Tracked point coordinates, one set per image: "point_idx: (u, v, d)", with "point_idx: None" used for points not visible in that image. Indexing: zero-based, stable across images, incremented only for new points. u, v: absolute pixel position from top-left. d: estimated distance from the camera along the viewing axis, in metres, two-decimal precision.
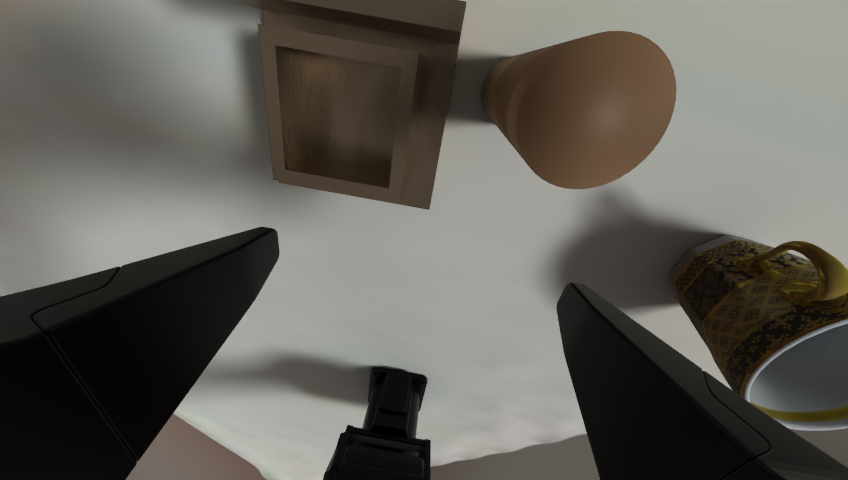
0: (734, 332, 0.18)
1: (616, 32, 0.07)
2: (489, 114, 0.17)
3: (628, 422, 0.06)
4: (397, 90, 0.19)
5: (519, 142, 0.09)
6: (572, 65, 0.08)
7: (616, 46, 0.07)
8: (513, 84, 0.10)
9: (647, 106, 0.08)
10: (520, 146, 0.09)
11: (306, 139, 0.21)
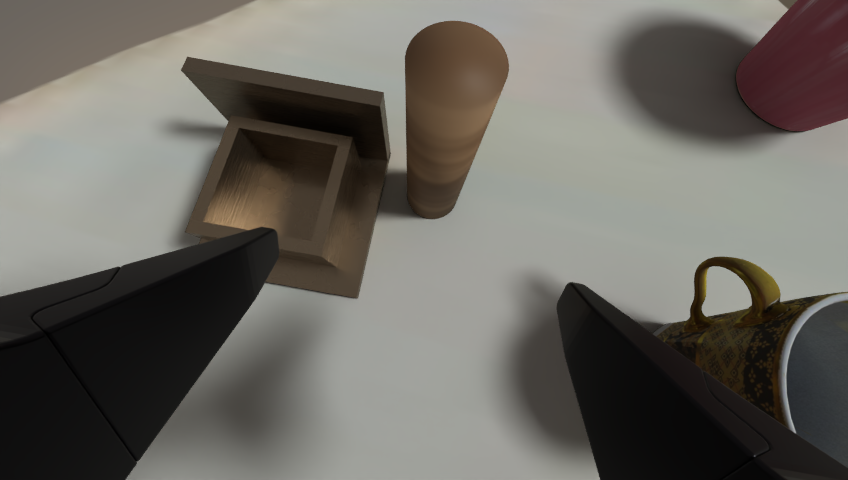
0: (729, 386, 0.14)
1: (457, 21, 0.12)
2: (410, 185, 0.20)
3: (628, 422, 0.06)
4: None
5: (407, 74, 0.11)
6: (435, 34, 0.12)
7: (459, 27, 0.12)
8: None
9: (490, 56, 0.12)
10: (409, 77, 0.11)
11: (239, 219, 0.21)
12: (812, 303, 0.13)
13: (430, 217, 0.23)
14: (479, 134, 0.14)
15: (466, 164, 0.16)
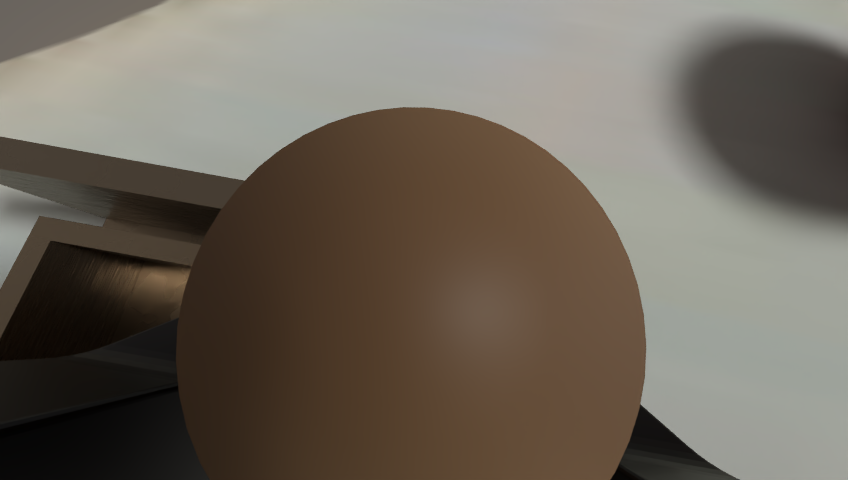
0: None
1: (425, 111, 0.03)
2: None
3: None
4: None
5: (183, 383, 0.02)
6: (333, 167, 0.03)
7: (433, 134, 0.03)
8: None
9: (562, 269, 0.03)
10: (189, 399, 0.02)
11: None
12: None
13: None
14: None
15: None
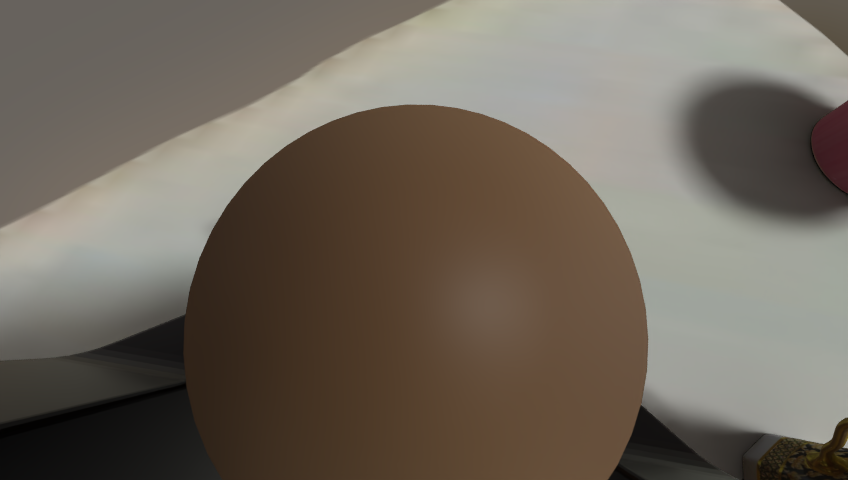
0: None
1: (429, 108, 0.03)
2: None
3: None
4: None
5: (191, 376, 0.02)
6: (338, 163, 0.03)
7: (436, 131, 0.03)
8: None
9: (564, 264, 0.03)
10: (197, 392, 0.02)
11: None
12: None
13: None
14: None
15: None
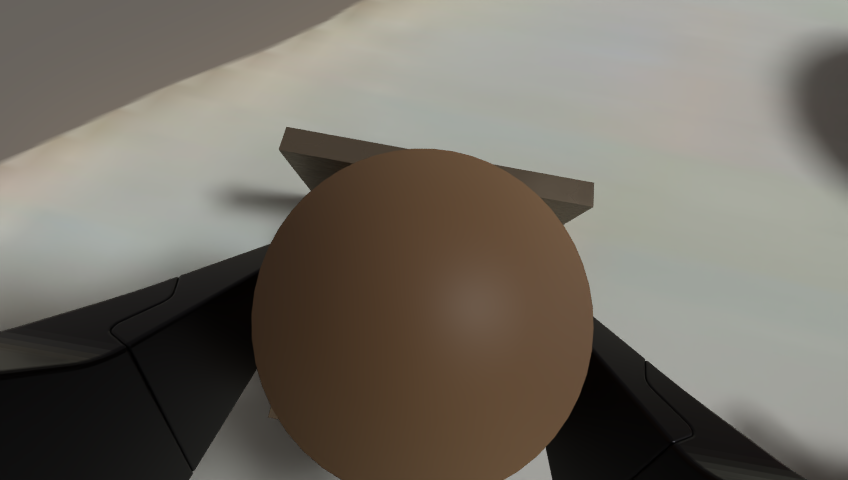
0: None
1: (430, 151, 0.04)
2: None
3: (574, 412, 0.06)
4: None
5: (257, 355, 0.03)
6: (362, 195, 0.04)
7: (436, 170, 0.04)
8: None
9: (533, 272, 0.04)
10: (261, 366, 0.03)
11: None
12: None
13: None
14: None
15: None
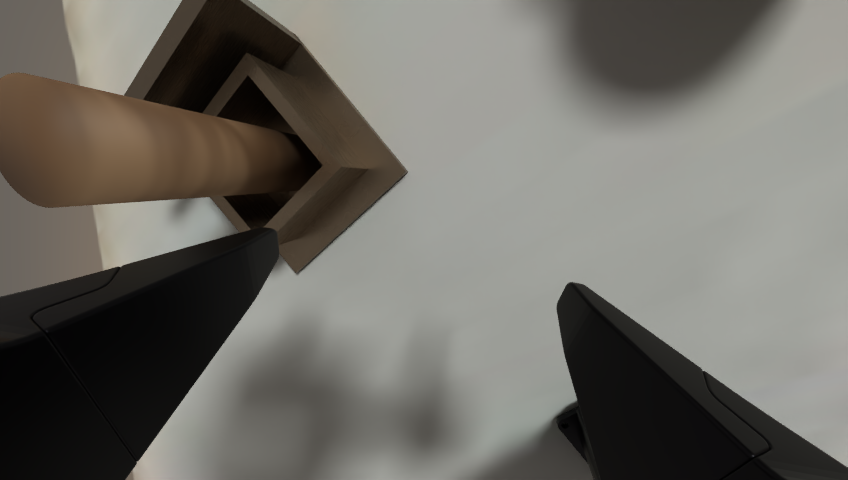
0: None
1: None
2: None
3: (628, 422, 0.06)
4: None
5: (34, 202, 0.10)
6: None
7: None
8: None
9: (35, 100, 0.09)
10: (38, 203, 0.10)
11: (277, 214, 0.22)
12: None
13: None
14: (166, 145, 0.11)
15: (224, 155, 0.14)
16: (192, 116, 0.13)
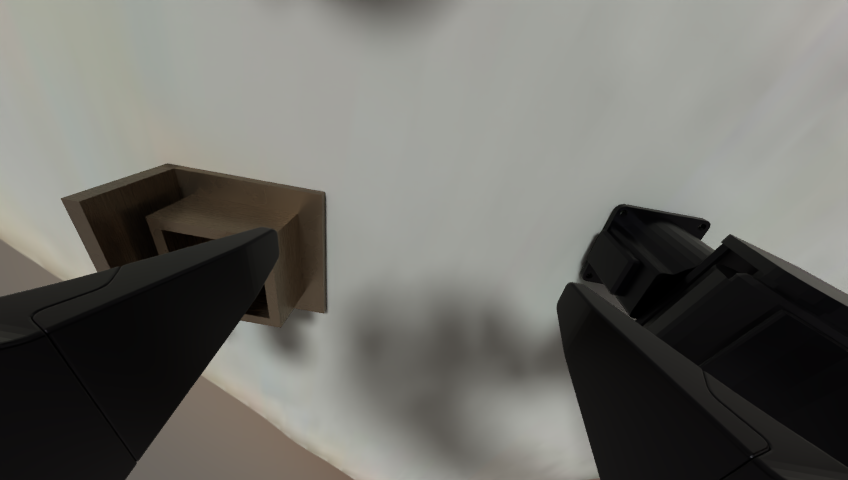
0: None
1: None
2: None
3: (628, 422, 0.06)
4: None
5: None
6: None
7: None
8: None
9: None
10: None
11: None
12: None
13: None
14: None
15: None
16: None
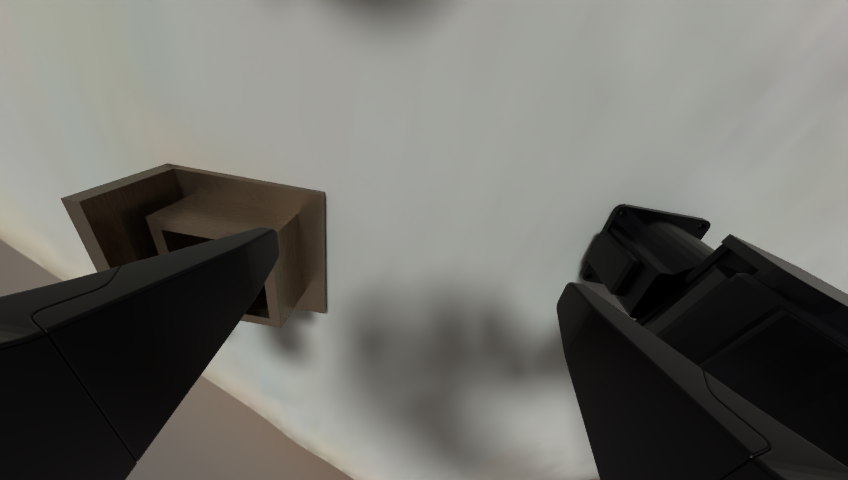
0: None
1: None
2: None
3: (628, 422, 0.06)
4: None
5: None
6: None
7: None
8: None
9: None
10: None
11: None
12: None
13: None
14: None
15: None
16: None
